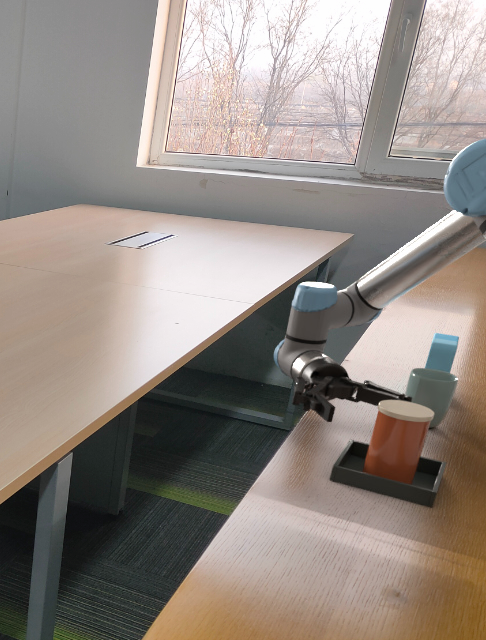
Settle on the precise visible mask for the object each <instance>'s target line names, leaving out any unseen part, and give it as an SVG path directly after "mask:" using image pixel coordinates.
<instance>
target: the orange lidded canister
mask: <svg viewBox="0 0 486 640" xmlns="http://www.w3.org/2000/svg"><path fill="white" fill-rule="evenodd" d="M433 417H434V412H433V411H432V410H431V409H429V408H427V407H425V406H422V405H419V404H416V403H412V402H407V401H400V400H384V401H381V402H379V404H378V406H377V414H376V417H375V421H374V424H373V429H372V433H371V436H370V440H369V443H368V444H369V447H368V451H367V455H366V458H365V462H364V466H363V470H362V472H364V473H368V474H372V475H375V476H379V477H383V478H387V479H391V480H395V481H399V482H403V483H407V484H410V485H412V483H413V480H414V477H415V473H416V470H417V466H418V463H419V460H420V456H422V452H423V450H424V446H425V443H426V440H427V436H428V432H429V430H430V428H429V426H430V422H431V420H433Z"/></svg>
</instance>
